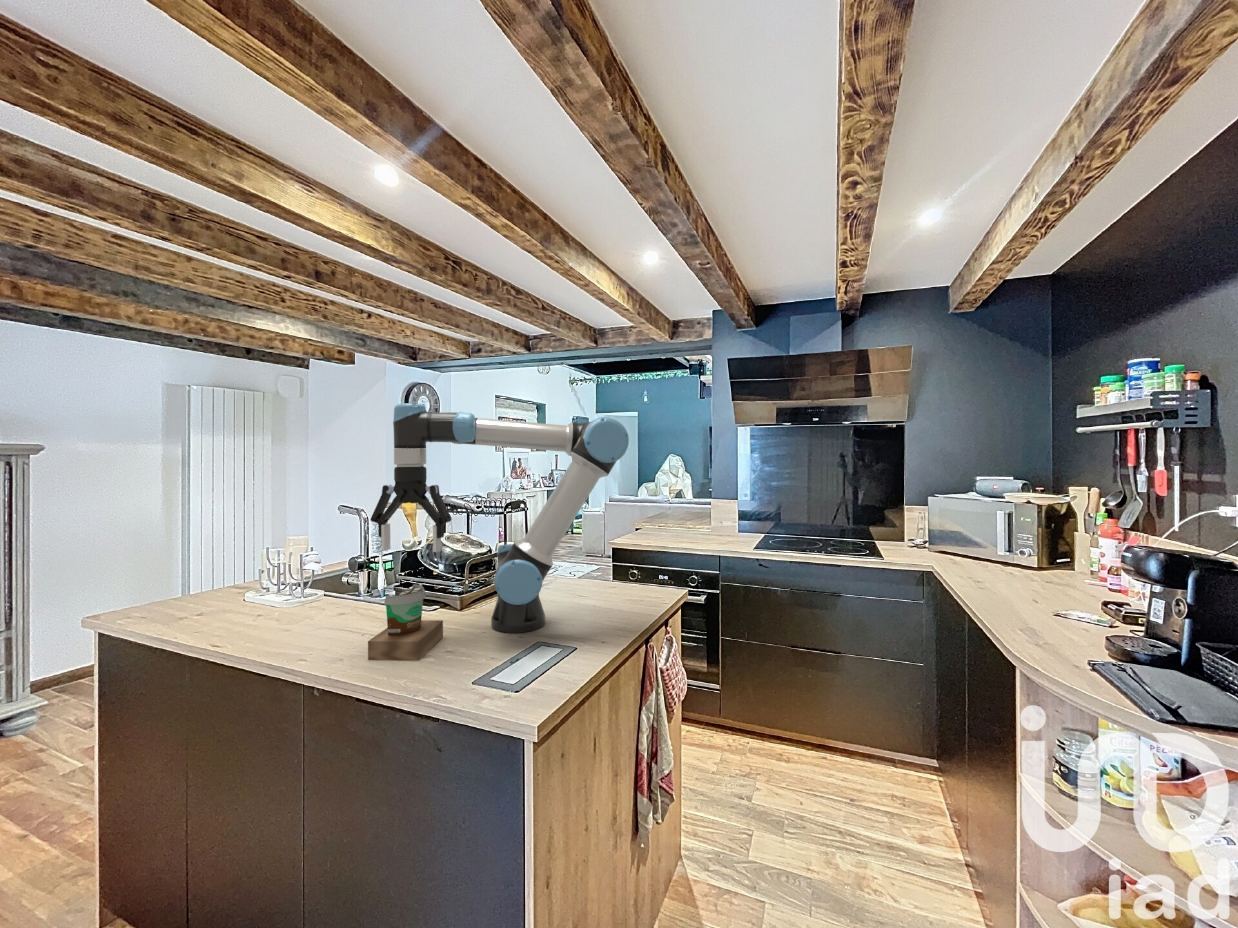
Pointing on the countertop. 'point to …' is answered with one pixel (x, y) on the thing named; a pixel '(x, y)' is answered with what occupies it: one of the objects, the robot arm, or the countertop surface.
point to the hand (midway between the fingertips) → (411, 550)
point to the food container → (405, 611)
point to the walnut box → (406, 643)
